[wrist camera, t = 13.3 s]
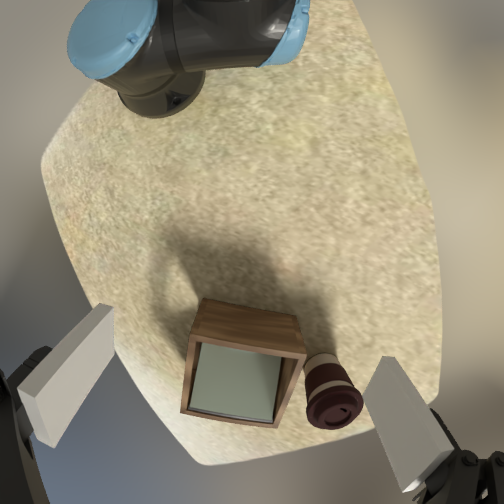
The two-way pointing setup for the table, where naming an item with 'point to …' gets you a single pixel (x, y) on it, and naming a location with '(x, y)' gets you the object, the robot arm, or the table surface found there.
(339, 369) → the coffee cup
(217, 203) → the table surface
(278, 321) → the box frame
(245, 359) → the trapdoor
